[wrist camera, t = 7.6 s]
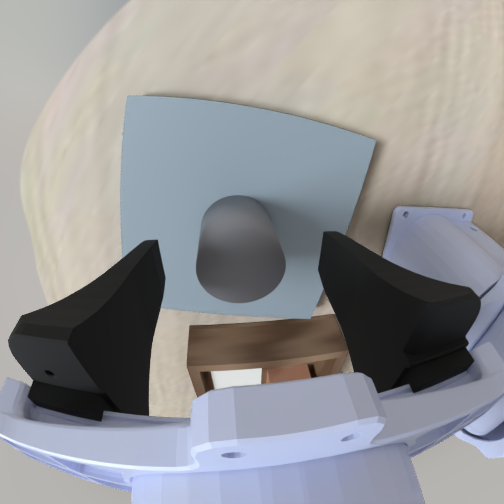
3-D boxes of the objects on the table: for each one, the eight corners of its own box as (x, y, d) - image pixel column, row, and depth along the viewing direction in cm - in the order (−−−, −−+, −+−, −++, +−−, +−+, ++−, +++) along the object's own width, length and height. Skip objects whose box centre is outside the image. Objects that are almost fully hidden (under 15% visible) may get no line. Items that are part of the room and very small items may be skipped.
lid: (362, 135, 15) (418, 158, 10) (304, 303, 22) (324, 360, 17) (137, 95, 12) (93, 97, 8) (133, 287, 19) (113, 347, 14)
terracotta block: (307, 364, 25) (313, 387, 23) (301, 383, 27) (307, 404, 25) (267, 369, 25) (271, 392, 23) (265, 388, 27) (269, 410, 25)
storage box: (333, 314, 22) (348, 349, 19) (311, 385, 29) (319, 414, 25) (189, 325, 21) (186, 365, 18) (207, 395, 28) (208, 425, 24)
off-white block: (257, 337, 22) (261, 364, 20) (257, 364, 24) (260, 389, 22) (209, 340, 22) (209, 367, 20) (214, 367, 24) (215, 392, 22)
